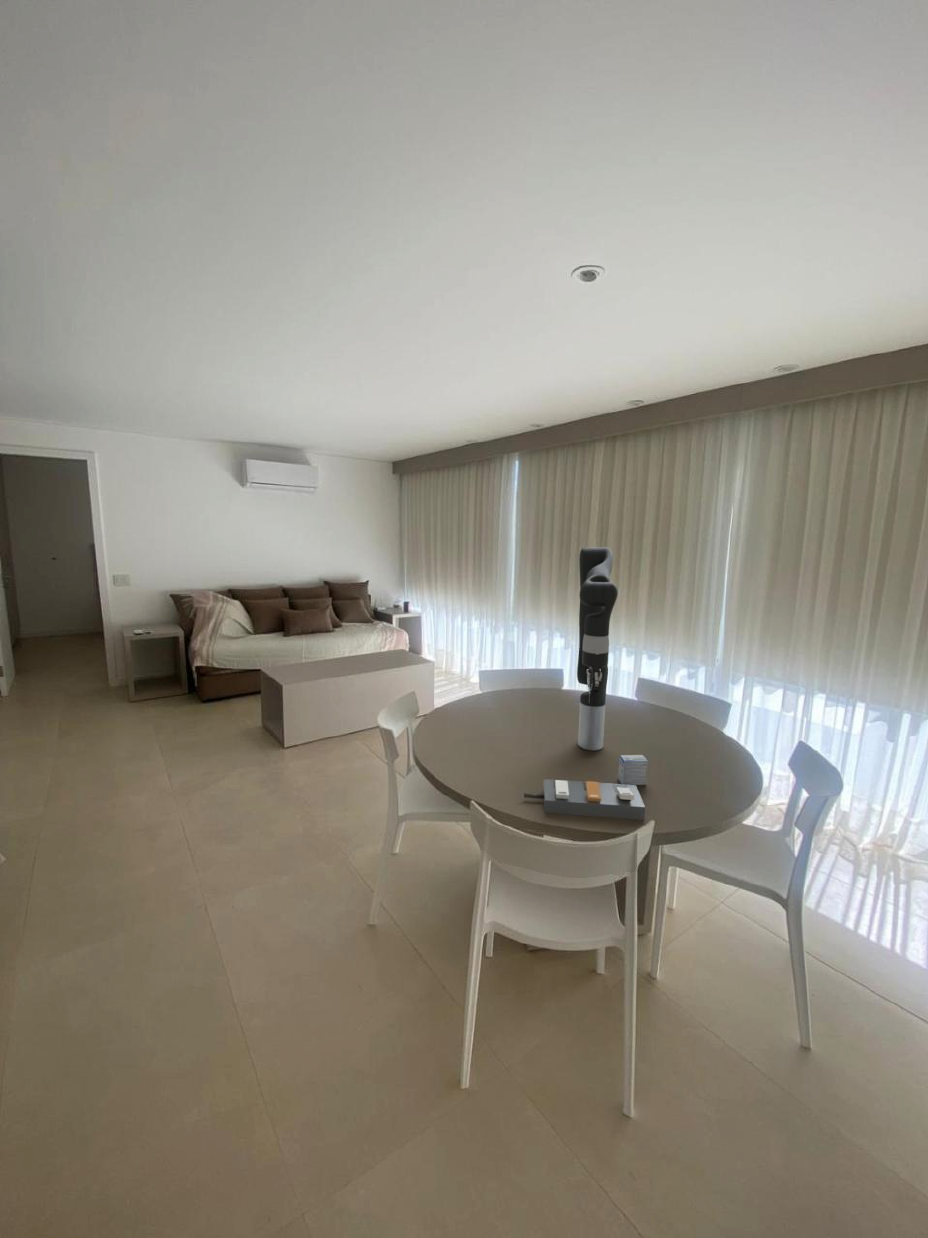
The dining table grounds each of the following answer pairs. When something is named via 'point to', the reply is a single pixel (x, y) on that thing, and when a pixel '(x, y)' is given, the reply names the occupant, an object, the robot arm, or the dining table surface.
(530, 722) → the dining table surface
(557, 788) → the plate
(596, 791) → the rocker
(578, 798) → the power strip
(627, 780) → the medicine box
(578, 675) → the robot arm
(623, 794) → the rocker
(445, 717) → the dining table surface
